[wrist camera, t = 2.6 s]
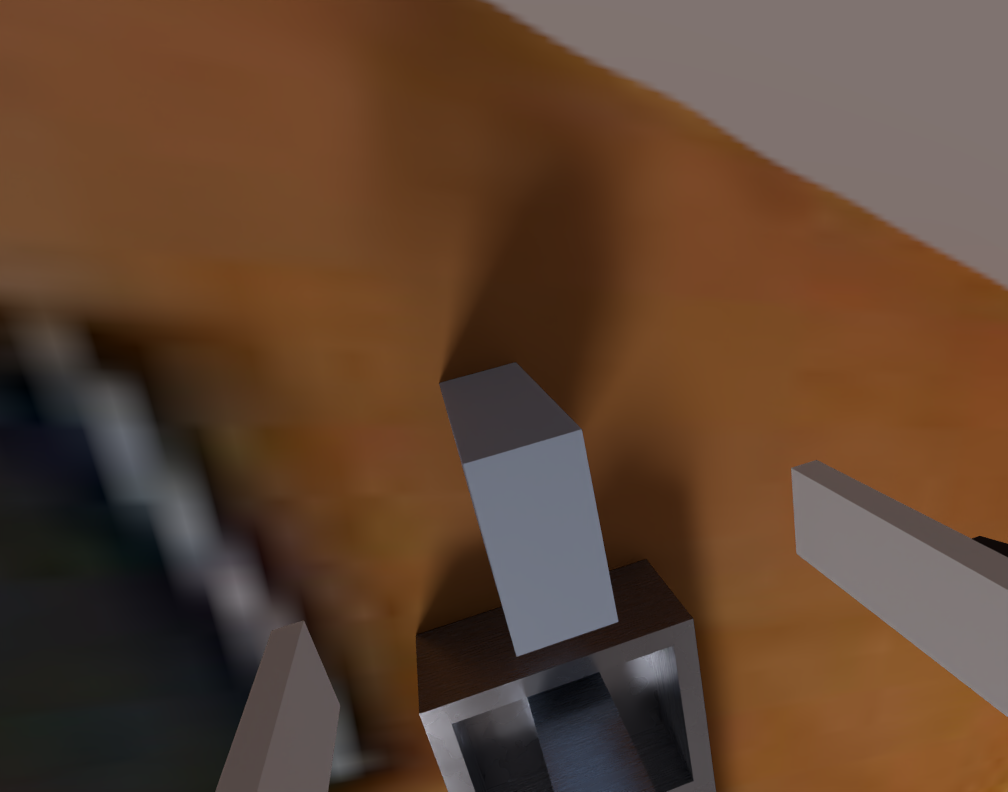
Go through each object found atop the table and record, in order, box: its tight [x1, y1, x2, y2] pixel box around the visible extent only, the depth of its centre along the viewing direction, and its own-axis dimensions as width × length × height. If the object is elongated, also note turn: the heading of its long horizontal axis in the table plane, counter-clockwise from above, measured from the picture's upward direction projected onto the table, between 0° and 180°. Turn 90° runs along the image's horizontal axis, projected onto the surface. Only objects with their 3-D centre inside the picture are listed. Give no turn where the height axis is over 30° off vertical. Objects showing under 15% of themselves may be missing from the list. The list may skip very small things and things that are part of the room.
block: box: [439, 362, 618, 656], centre depth 18 cm, size 6×3×8 cm, turn 13°
